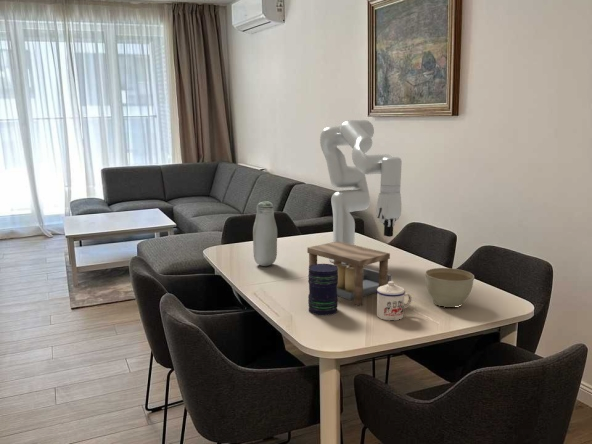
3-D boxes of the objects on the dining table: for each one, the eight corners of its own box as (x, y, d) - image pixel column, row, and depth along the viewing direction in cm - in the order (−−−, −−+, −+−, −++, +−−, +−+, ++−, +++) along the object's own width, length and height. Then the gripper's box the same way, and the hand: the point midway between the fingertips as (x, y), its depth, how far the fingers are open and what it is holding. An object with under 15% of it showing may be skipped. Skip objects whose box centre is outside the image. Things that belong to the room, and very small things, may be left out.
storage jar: (315, 317, 184) (316, 272, 181) (303, 308, 193) (303, 265, 190) (342, 313, 188) (343, 269, 185) (329, 304, 197) (329, 262, 194)
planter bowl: (464, 315, 185) (466, 283, 183) (417, 306, 194) (418, 276, 192) (477, 301, 199) (479, 271, 197) (433, 294, 207) (434, 265, 205)
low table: (337, 280, 224) (337, 241, 221) (388, 296, 205) (389, 253, 202) (307, 288, 214) (307, 247, 210) (358, 306, 194) (359, 261, 191)
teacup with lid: (383, 322, 179) (384, 287, 177) (371, 313, 188) (372, 279, 186) (417, 318, 183) (418, 283, 180) (404, 309, 191) (405, 276, 189)
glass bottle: (263, 269, 240) (263, 204, 234) (249, 264, 247) (248, 201, 242) (281, 265, 246) (281, 201, 241) (267, 261, 254) (266, 199, 248)
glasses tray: (364, 280, 224) (365, 255, 223) (390, 287, 215) (391, 262, 213) (325, 291, 210) (325, 265, 208) (351, 300, 201) (351, 272, 199)
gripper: (395, 186, 225) (393, 231, 228) (369, 190, 215) (368, 237, 219) (410, 188, 219) (408, 234, 223) (385, 192, 209) (383, 240, 213)
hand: (388, 235), depth 221 cm, fingers closed
